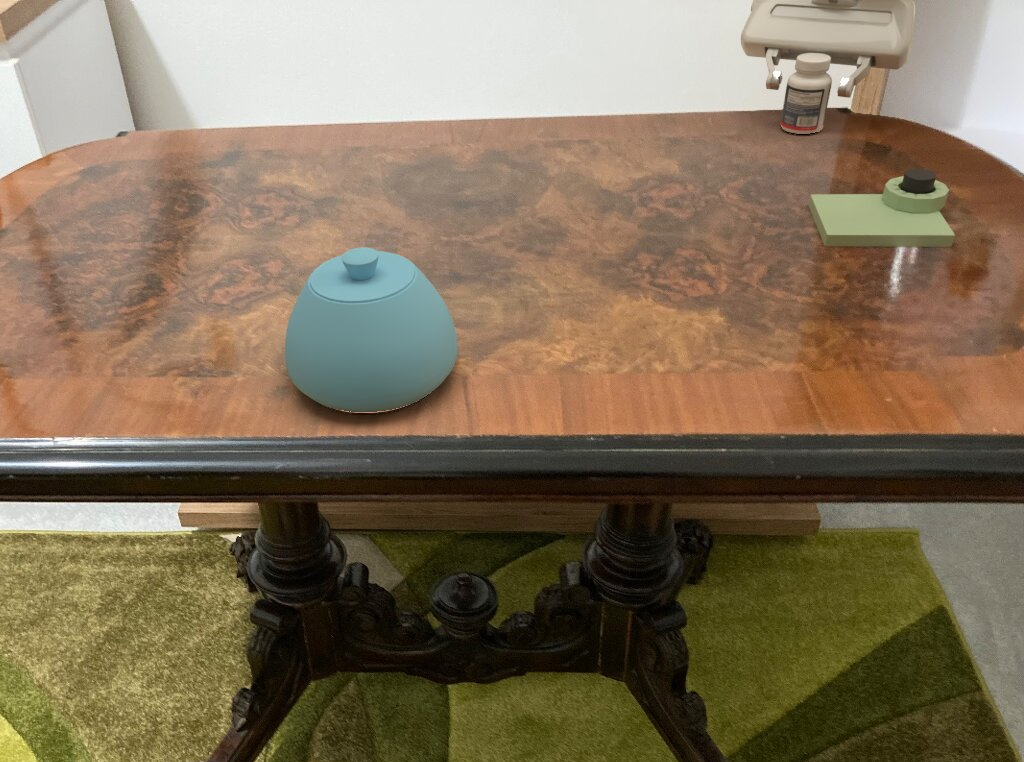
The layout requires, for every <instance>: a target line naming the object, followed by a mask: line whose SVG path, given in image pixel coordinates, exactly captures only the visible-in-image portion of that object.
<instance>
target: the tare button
mask: <svg viewBox="0 0 1024 762" xmlns="http://www.w3.org/2000/svg"><path fill="white" fill-rule="evenodd" d="M903 176H904V177H903V181H902V185H901V190H903V191H905V192H908V193H913V194H929V193H931V192H932V190H933V187H934V183H935V180H937V174H936V172H934V171H932V170H929V169H926V168H910V169H907V170H906V171H904V174H903Z"/></svg>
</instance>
